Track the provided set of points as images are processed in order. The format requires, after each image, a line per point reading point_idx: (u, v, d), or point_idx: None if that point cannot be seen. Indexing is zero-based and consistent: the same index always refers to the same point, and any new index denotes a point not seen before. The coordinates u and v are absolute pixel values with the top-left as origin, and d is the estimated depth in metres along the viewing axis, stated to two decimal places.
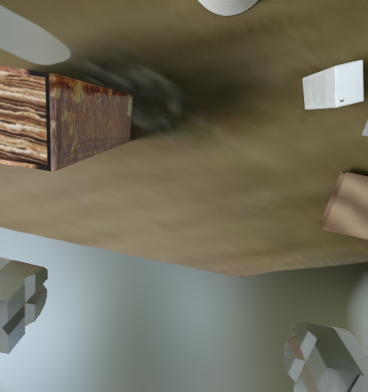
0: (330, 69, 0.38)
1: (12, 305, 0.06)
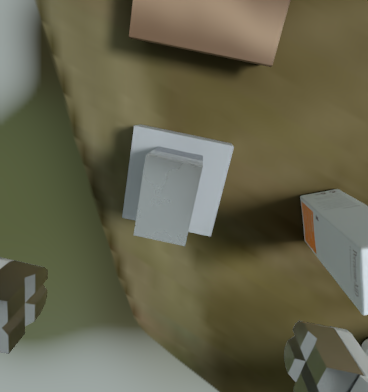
0: None
1: (12, 305, 0.06)
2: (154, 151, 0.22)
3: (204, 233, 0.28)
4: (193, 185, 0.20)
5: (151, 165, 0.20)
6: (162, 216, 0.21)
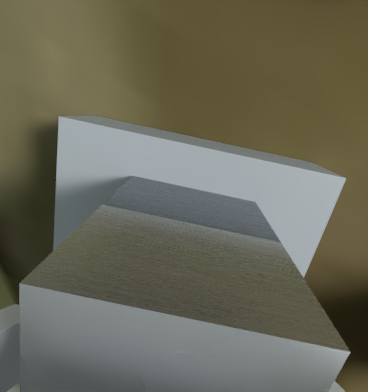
0: None
1: None
2: (103, 214, 0.06)
3: None
4: None
5: (58, 331, 0.04)
6: None
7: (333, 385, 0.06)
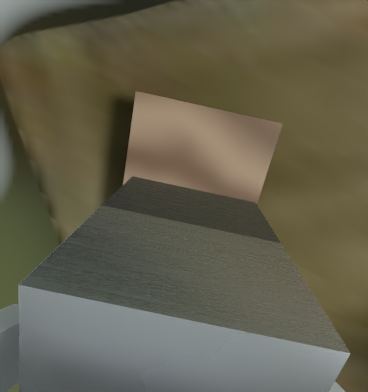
0: None
1: None
2: (102, 215, 0.06)
3: None
4: None
5: (57, 332, 0.04)
6: None
7: (333, 385, 0.06)
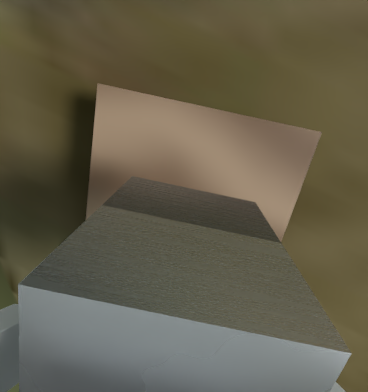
0: None
1: None
2: (103, 215, 0.06)
3: None
4: None
5: (58, 332, 0.04)
6: None
7: (333, 385, 0.06)
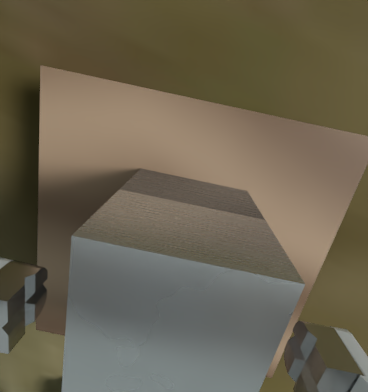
0: None
1: (12, 305, 0.06)
2: (121, 196, 0.07)
3: None
4: (259, 341, 0.05)
5: (97, 272, 0.05)
6: None
7: None
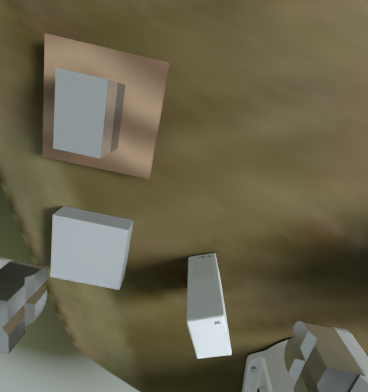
0: (230, 344, 0.29)
1: (12, 305, 0.06)
2: None
3: (114, 287, 0.37)
4: (101, 97, 0.22)
5: (61, 77, 0.22)
6: (77, 129, 0.23)
7: None
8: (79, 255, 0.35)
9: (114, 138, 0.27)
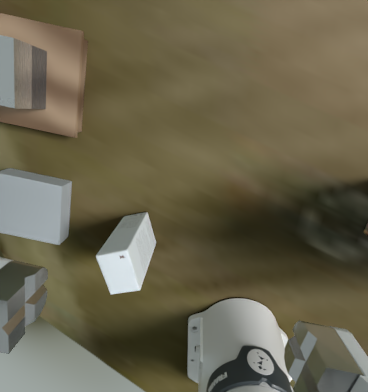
0: (142, 282, 0.32)
1: (12, 305, 0.06)
2: None
3: (54, 242, 0.40)
4: (9, 53, 0.26)
5: None
6: None
7: None
8: (21, 211, 0.39)
9: (37, 97, 0.32)
